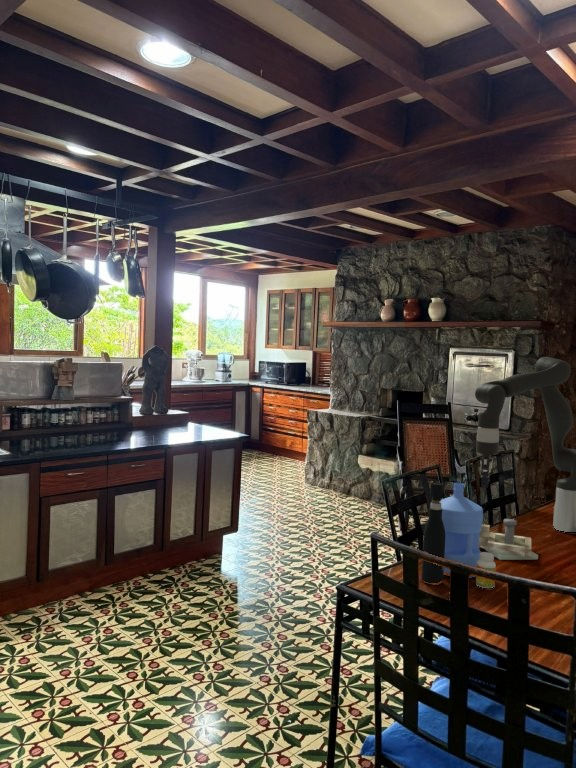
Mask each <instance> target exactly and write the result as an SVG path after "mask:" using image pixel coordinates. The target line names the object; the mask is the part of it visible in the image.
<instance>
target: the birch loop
mask: <svg viewBox="0 0 576 768" xmlns="http://www.w3.org/2000/svg"><path fill="white" fill-rule="evenodd" d="M490 526H491V525H490V524H485V523H484V524H483V523H482V530H481V531H480V534H479V547H481V546H487V551H486V552H488V551H489V552H495V553H502V554H508V555H515V556H521V557H528V558H531V551H532V538H531V537H528V536H522V535H521V536H520V535H514V544H513V545H511V544H504V541H505V533H501V532H492V531H490ZM489 552H488V553H489Z"/></svg>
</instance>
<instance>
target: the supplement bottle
mask: <svg viewBox="0 0 576 768" xmlns="http://www.w3.org/2000/svg"><path fill="white" fill-rule="evenodd" d="M480 552H481V553H480V559H479V560H478V561H477V567H478V568H482V569H486V570H490V571H494V572H496V571H497V570H496V569H497V565H496V562H495V561H494V560H495V559H494V558H495V556H494V555H493V554H492V553H489V552H488V551H480ZM475 585H476V587H478V586H479V587H478V588H480V587H482V588H481V589H483V588H493V587H494V588H495V586H496V580H495V581H492V580H488V579H485V578H481V577H477V576H475ZM494 588H493V589H494Z"/></svg>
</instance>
